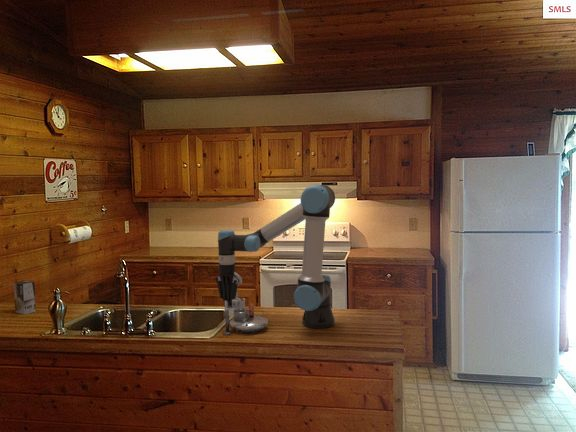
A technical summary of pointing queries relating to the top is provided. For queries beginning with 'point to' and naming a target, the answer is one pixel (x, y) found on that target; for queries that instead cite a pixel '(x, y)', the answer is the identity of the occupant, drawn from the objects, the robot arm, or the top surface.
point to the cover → (241, 315)
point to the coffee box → (24, 297)
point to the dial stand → (228, 312)
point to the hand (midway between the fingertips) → (228, 313)
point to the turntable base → (249, 331)
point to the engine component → (237, 301)
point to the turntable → (250, 321)
